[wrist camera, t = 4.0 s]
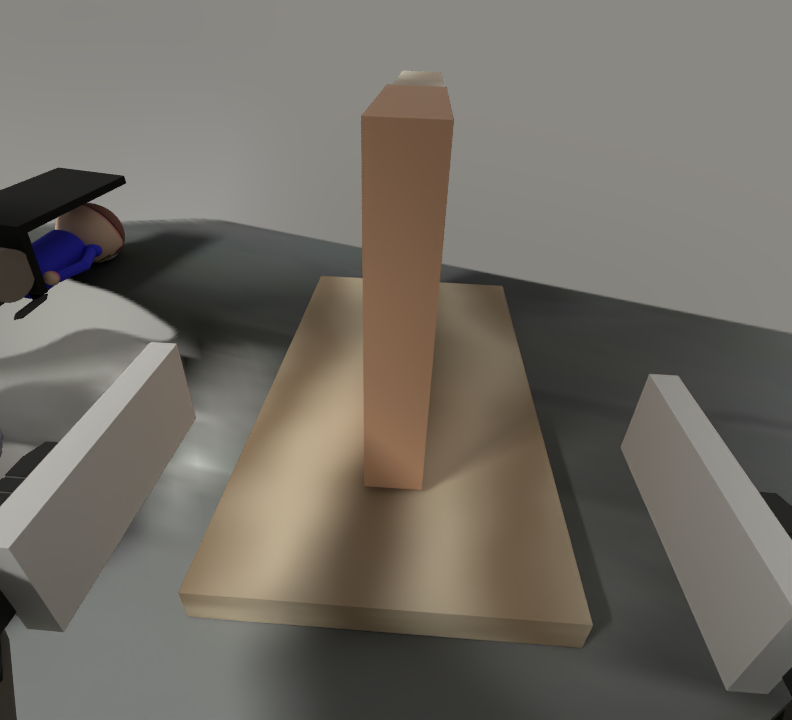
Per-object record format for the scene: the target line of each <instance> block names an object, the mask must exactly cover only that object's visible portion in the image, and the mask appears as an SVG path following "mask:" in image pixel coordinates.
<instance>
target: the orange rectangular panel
mask: <svg viewBox="0 0 792 720" xmlns="http://www.w3.org/2000/svg"><path fill="white" fill-rule="evenodd" d="M453 125H454V118H453V114H452V109H451V105H450V100H449V96H448V91H447V87H439V86H414V85H389V84H387V85H386V86H385V87H384V89H383V90H382V91H381V93H380V94H379V95H378V96H377V97H376V99H375V100H374V101H373V102H372V103H371V105H370V106H369V107H368V108H367V109H366V111H365V112H364V113H363V114H362V116H361V148H362V149H361V150H362V272H363V394H364V486H370V487H385V488H399V489H413V490H422V480H423V469H424V458H425V446H426V435H427V423H428V412H429V400H430V389H431V377H432V366H433V354H434V343H435V331H436V320H437V308H438V297H439V285H440V274H441V262H442V250H443V239H444V228H445V216H446V204H447V193H448V182H449V170H450V158H451V148H452V136H453Z"/></svg>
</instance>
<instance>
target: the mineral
mask: <svg viewBox="0 0 792 720" xmlns="http://www.w3.org/2000/svg"><path fill="white" fill-rule="evenodd" d="M2 440H3V435H2V432H1V431H0V456H1V454H2V450H1V449H2Z"/></svg>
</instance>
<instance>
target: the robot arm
mask: <svg viewBox="0 0 792 720" xmlns="http://www.w3.org/2000/svg"><path fill="white" fill-rule="evenodd" d="M195 419H196V416H195V412H194V409H193V405H192V401H191V397H190V393H189V389H188V385H187V381H186V377H185V373H184V370H183V366H182V362H181V358H180V354H179V350H178V346H177V344H174V343H158V342H150V343H149V344H148V345H147V346H146V347H145V348H144V350H143V351H142V352H141V353H140V354H139V355H138V356H137V357H136V358H135V359H134V361H133V362H132V363H131V364H130V365H129V366H128V367H127V368H126V369H125V370H124V371H123V373H122V374H121V375H120V376H119V377H118V378H117V379H116V380H115V381H114V382H113V384H112V385H111V386H110V387H109V388H108V389H107V390H106V391H105V392H104V393H103V395H102V396H101V397H100V398H99V399H98V400H97V401H96V402H95V403H94V404H93V405H92V407H91V408H90V409H89V410H88V411H87V412H86V413H85V414H84V415H83V416H82V418H81V419H80V420H79V421H78V422H77V423H76V424H75V425H74V426H73V427H72V429H71V430H70V431H69V432H68V433H67V434H66V435H65V436H64V437H63V438H62V439H61V441H60V442H59V443H58V442H45V443H43V444H42V445H40V446H39V447H37V448H35V449H34V450H32V451H31V452H29V453H28V454H26V455H25V456H23V457H22V458H21V459H20V460H19V461H18V462H17V463H16V464H15V465H14V466H13V467H12V468H11V469H10V470H9V471H8V472H7V473H6V475H5V478H2V479H1V480H0V720H17V718H16V707H15V697H14V686H13V675H12V664H11V653H10V643H9V638H8V636H7V633H6V631H5V630H4V629H5V627H6V626H7V625H8V623H9V622H10V621H11V619H12V618H13V616H14V615H15V614H17V616H18V617H19V618H20V620H21V621H22V622H23V624H24V625H25V626H26V628H27V629H35V630H46V631H57V632H64V631H65V629H66V628H67V626H68V624H69V623H70V621H71V620H72V618H73V616H74V615H75V613H76V611H77V610H78V608H79V607H80V605H81V603H82V602H83V600H84V599H85V597H86V595H87V594H88V592H89V590H90V589H91V587H92V586H93V584H94V582H95V581H96V579H97V577H98V576H99V574H100V573H101V571H102V569H103V568H104V566H105V565H106V563H107V561H108V560H109V558H110V556H111V555H112V553H113V552H114V550H115V548H116V547H117V545H118V543H119V542H120V540H121V539H122V537H123V535H124V534H125V532H126V531H127V529H128V527H129V526H130V524H131V522H132V521H133V519H134V518H135V516H136V514H137V513H138V511H139V509H140V508H141V506H142V505H143V503H144V501H145V500H146V498H147V497H148V495H149V493H150V492H151V490H152V488H153V487H154V485H155V484H156V482H157V480H158V479H159V477H160V475H161V474H162V472H163V471H164V469H165V467H166V466H167V464H168V462H169V461H170V459H171V458H172V456H173V454H174V453H175V451H176V450H177V448H178V446H179V445H180V443H181V441H182V440H183V438H184V437H185V435H186V433H187V432H188V430H189V428H190V427H191V425H192V424H193V422H194V420H195ZM620 448H621V450H622V452H623V455H624V457H625V459H626V462H627V464H628V466H629V468H630V471H631V473H632V475H633V478H634V480H635V482H636V484H637V487H638V489H639V491H640V494H641V496H642V498H643V501H644V503H645V505H646V507H647V510H648V512H649V514H650V517H651V519H652V521H653V523H654V526H655V528H656V530H657V533H658V535H659V537H660V539H661V542H662V544H663V546H664V549H665V551H666V553H667V556H668V558H669V560H670V562H671V565H672V567H673V569H674V572H675V574H676V576H677V578H678V581H679V583H680V585H681V588H682V590H683V592H684V594H685V597H686V599H687V601H688V604H689V606H690V608H691V611H692V613H693V615H694V617H695V620H696V622H697V624H698V627H699V629H700V631H701V633H702V636H703V638H704V640H705V643H706V645H707V647H708V649H709V652H710V654H711V656H712V659H713V661H714V663H715V665H716V668H717V670H718V672H719V675H720V677H721V679H722V682H723V684H724V686H725V688H726V691H736V692H748V693H759V694H768V693H769V692H770V691H771V690H772V689H773V688H774V687H775V686H776V685H777V684H778V683H779V682H780V681H781V680H782V679H783V681H784V683H785V684H786V686H787V688H788V690H789V692H790V694H791V696H792V506H791V505H790V504H788V503H787V502H786V501H785V500H784V499H782V498H781V497H780V496H779V495H777V494H776V493H765V492H758V491H757V489H756V488H755V486H754V485H753V483H752V482H751V480H750V479H749V478H748V476H747V475H746V473H745V472H744V470H743V469H742V467H741V466H740V465H739V463H738V462H737V460H736V459H735V457H734V456H733V454H732V453H731V452H730V450H729V449H728V447H727V446H726V444H725V443H724V441H723V440H722V439H721V437H720V436H719V434H718V433H717V431H716V430H715V428H714V427H713V426H712V424H711V423H710V421H709V420H708V418H707V417H706V415H705V414H704V413H703V411H702V410H701V408H700V407H699V405H698V404H697V402H696V401H695V400H694V398H693V397H692V395H691V394H690V392H689V391H688V389H687V388H686V387H685V385H684V384H683V382H682V381H681V379H680V378H679V376H676V375H660V374H649V376H648V378H647V381H646V383H645V386H644V389H643V391H642V394H641V396H640V399H639V401H638V404H637V406H636V409H635V412H634V414H633V417H632V419H631V422H630V424H629V427H628V430H627V432H626V435H625V437H624V440H623V442H622V445H621V447H620ZM771 720H792V700H791V701H790V702H789V703H788V704H787V705H786V706H785V707H784V708H783V709H781V710H780V711H779V712H778V713H777V714H776V715H775V716H774V717H773V718H772V719H771Z"/></svg>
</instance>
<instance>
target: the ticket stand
mask: <svg viewBox="0 0 792 720" xmlns="http://www.w3.org/2000/svg"><path fill="white" fill-rule="evenodd" d="M393 85H414V86H439V87H444V82H443V77H442V72H421V71H402V72H401V74H400V75H399V76H398V78H397V79H396V81H395V82H394V83H393ZM178 593H179V596H180V599H181V601H182V604H183V606H184V609H185V612H186V614H187V616H188V617H200V618H213V619H225V620H238V621H250V622H263V623H275V624H288V625H300V626H313V627H326V628H338V629H351V630H363V631H376V632H388V633H401V634H413V635H426V636H439V637H451V638H464V639H476V640H489V641H501V642H514V643H526V644H539V645H551V646H564V647H577V648H582V647H583V645H584V643H585V641H586V639H587V637H588V635H589V632H590V630H591V628H592V626H593V623H592V620H591V616H590V612H589V608H588V605H587V601H586V597H585V593H584V590H583V586H582V582H581V578H580V575H579V571H578V567H577V564H576V560H575V556H574V552H573V549H572V545H571V541H570V537H569V534H568V530H567V526H566V522H565V519H564V515H563V511H562V507H561V504H560V500H559V496H558V492H557V489H556V485H555V481H554V477H553V474H552V470H551V466H550V462H549V459H548V455H547V451H546V447H545V444H544V440H543V436H542V432H541V429H540V425H539V421H538V417H537V414H536V410H535V406H534V402H533V399H532V395H531V391H530V387H529V384H528V380H527V376H526V372H525V369H524V365H523V361H522V358H521V354H520V350H519V346H518V343H517V339H516V335H515V331H514V328H513V324H512V320H511V316H510V313H509V309H508V305H507V301H506V298H505V294H504V290H503V286H495V285H477V284H459V283H440V285H439V297H438V308H437V320H436V331H435V343H434V354H433V366H432V377H431V389H430V400H429V412H428V423H427V435H426V446H425V458H424V469H423V480H422V490H413V489H399V488H385V487H370V486H364V394H363V278H349V277H331V276H321V278H320V280H319V282H318V284H317V287H316V289H315V291H314V293H313V295H312V298H311V300H310V302H309V304H308V307H307V309H306V311H305V313H304V315H303V318H302V320H301V322H300V324H299V326H298V329H297V331H296V333H295V335H294V338H293V340H292V342H291V344H290V346H289V349H288V351H287V353H286V355H285V358H284V360H283V362H282V364H281V366H280V369H279V371H278V373H277V375H276V377H275V380H274V382H273V384H272V386H271V389H270V391H269V393H268V395H267V397H266V400H265V402H264V404H263V406H262V408H261V411H260V413H259V415H258V417H257V420H256V422H255V424H254V426H253V428H252V431H251V433H250V435H249V437H248V440H247V442H246V444H245V446H244V448H243V451H242V453H241V455H240V457H239V459H238V462H237V464H236V466H235V468H234V471H233V473H232V475H231V477H230V479H229V482H228V484H227V486H226V488H225V490H224V493H223V495H222V497H221V499H220V502H219V504H218V506H217V508H216V510H215V513H214V515H213V517H212V519H211V522H210V524H209V526H208V528H207V530H206V533H205V535H204V537H203V539H202V541H201V544H200V546H199V548H198V550H197V553H196V555H195V557H194V559H193V561H192V564H191V566H190V568H189V570H188V572H187V575H186V577H185V579H184V581H183V584H182V586H181V588H180V590H179V592H178Z"/></svg>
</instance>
